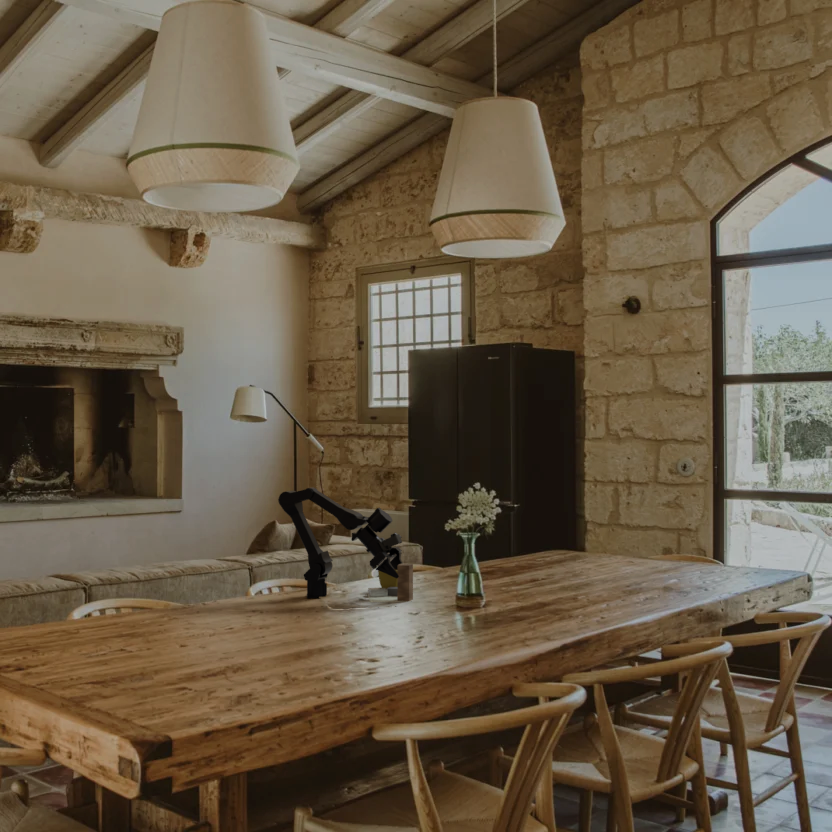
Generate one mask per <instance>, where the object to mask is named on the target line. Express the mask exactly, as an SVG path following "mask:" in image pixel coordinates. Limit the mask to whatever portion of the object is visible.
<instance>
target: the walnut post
mask: <svg viewBox="0 0 832 832" xmlns="http://www.w3.org/2000/svg"><path fill="white" fill-rule="evenodd" d="M397 574H398V575H399V577H398V578H397V601H412V600H414V564H413V563H403V564H399V565H397Z"/></svg>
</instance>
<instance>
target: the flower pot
mask: <svg viewBox="0 0 832 832" xmlns="http://www.w3.org/2000/svg"><path fill="white" fill-rule="evenodd" d="M395 571H396V572H397V570H396V569H395ZM377 574H378V579H379V580H378V581H379V583H380V584H379V585H380V588H382V587H385V588H388V587H397V578H394V577H392V576H390V575H388V574H386V573H383V572H381V571H379V570H377Z"/></svg>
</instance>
